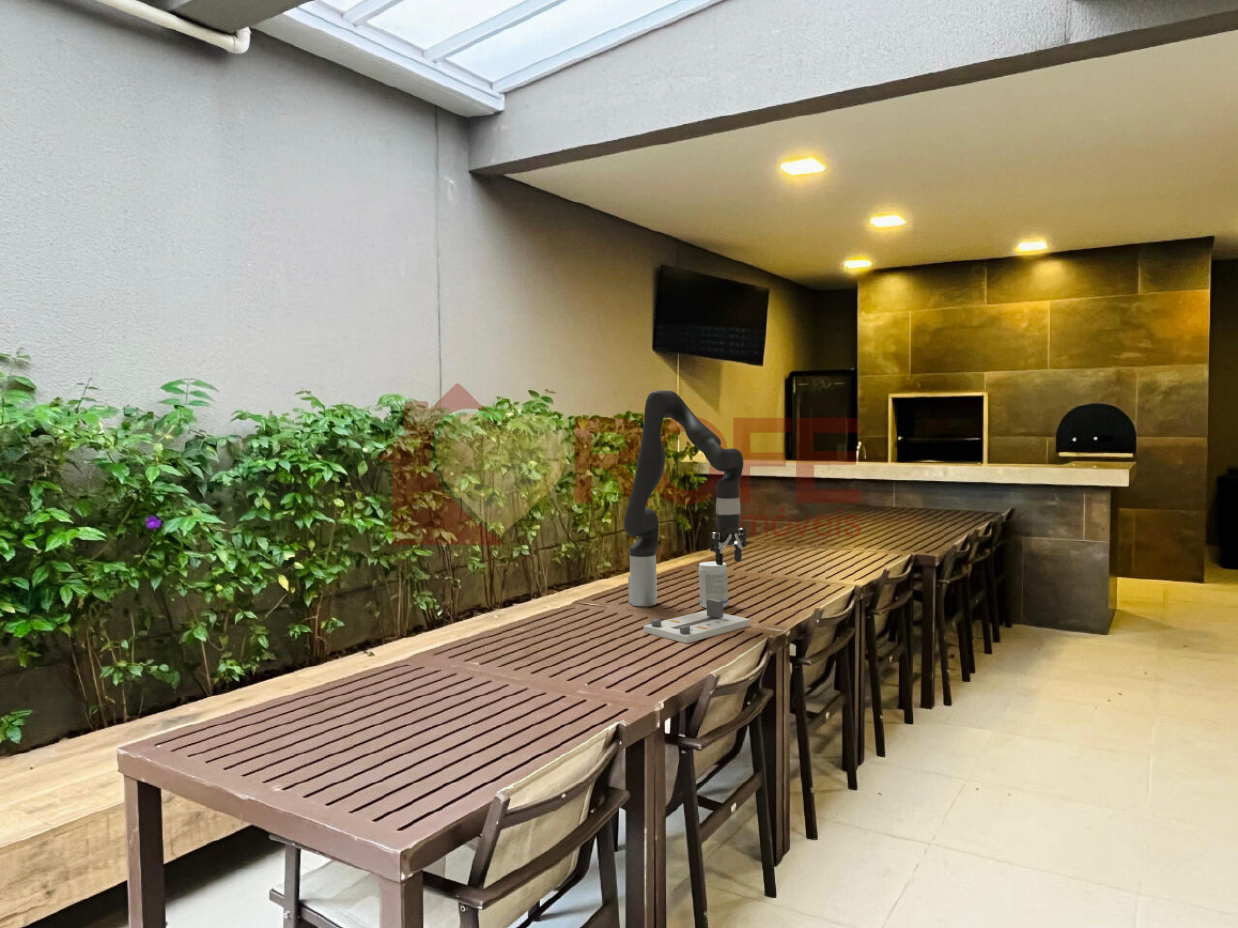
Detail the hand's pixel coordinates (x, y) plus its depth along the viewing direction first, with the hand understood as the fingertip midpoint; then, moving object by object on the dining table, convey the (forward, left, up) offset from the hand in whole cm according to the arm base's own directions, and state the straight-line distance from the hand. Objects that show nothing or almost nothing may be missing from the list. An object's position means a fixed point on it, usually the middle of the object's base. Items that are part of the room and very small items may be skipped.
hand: (728, 563), depth 260 cm
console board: (0, -15, -18) cm, 24 cm away
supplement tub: (-17, +11, -19) cm, 28 cm away
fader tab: (0, -7, -16) cm, 17 cm away
